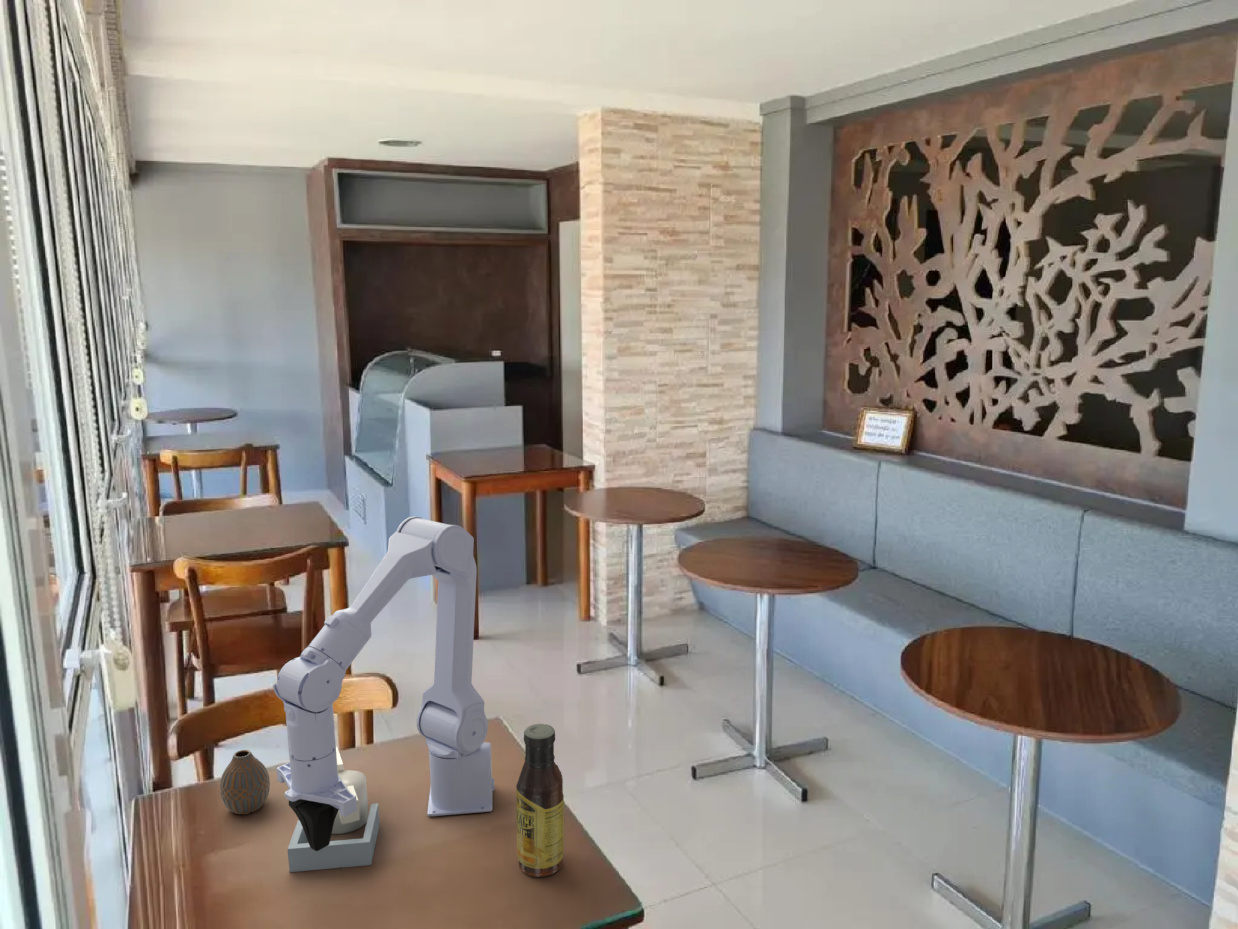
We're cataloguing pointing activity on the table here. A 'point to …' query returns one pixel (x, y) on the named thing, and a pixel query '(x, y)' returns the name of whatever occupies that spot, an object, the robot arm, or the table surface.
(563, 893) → the table surface
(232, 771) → the vase
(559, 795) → the sauce bottle
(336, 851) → the holder
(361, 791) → the cream egg with arms
